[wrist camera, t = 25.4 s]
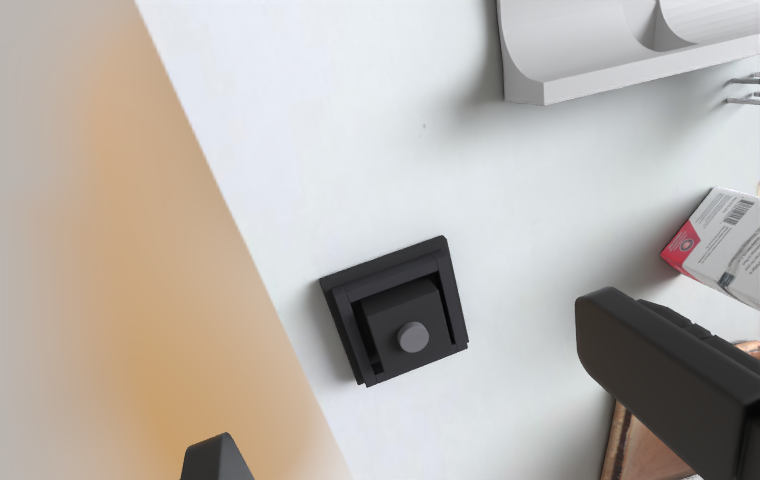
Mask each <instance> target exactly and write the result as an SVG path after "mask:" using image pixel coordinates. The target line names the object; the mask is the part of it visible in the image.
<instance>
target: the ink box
mask: <svg viewBox="0 0 760 480" xmlns="http://www.w3.org/2000/svg"><path fill="white" fill-rule="evenodd" d="M660 257H661V258H663V259H664V260H665V261H666V262H667V263H668V264H670V265H671V266H672V267H674V268H675V269H676V270H678V271H679V272H681V273H682V274H684V275H686V276H688V277H690V278H692V279H694V280H696V281H698V282H700V283H702V284H704V285H707V286H709V287H711V288H713V289H715V290H717V291H719V292H721V293H723V294H725V295H727V296H729V297H732V298H734V299H736V300H738V301H740V302H742V303H744V304H746V305H748V306H750V307H752V308H754V309H757V310H759V311H760V197H757V196H753V195H750V194H746V193H742V192H738V191H734V190H730V189H726V188H721V187H714V188H713V189H712V191H711V192H710V193H709V194H708V196H707V197H706V198H705V199H704V201H703V202H702V203H701V204H700V205H699V207H698V208H697V209H696V210H695V212H694V213H693V214H692V215H691V217H690V218H689V219H688V221H687V222H686V223H685V224H684V225H683V227H682V228H681V229H680V230H679V232H678V233H677V234H676V235H675V237H674V238H673V239H672V240H671V241H670V243H669V244H668V245H667V246H666V248H665V249H664V250H663V251H662V252H661V254H660Z"/></svg>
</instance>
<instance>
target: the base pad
mask: <svg viewBox="0 0 760 480" xmlns="http://www.w3.org/2000/svg"><path fill="white" fill-rule="evenodd" d="M425 275H426V276H427V277H428V278H429V280H430V281H431V282H432V284H433V285H434V286H435V287H436V289H437V290H438V291H439V296H440V300H441V304H442V308H443V312H444V317H445V321H446V325H447V329H448V333H449V337H450V342H451V346H452V350H450V351H448V352H445V353H442V354H440V355H437V356H435V357H432V358H430V359H427V360H424V361H422V362H419V363H417V364H414V365H412V366H409V367H407V368H404V369H401V370H399V371H396V372H394V373H391V374H389V375H385V373H384V370H383V368H382V365H381V362H380V360H379V357H378V355H377V352H376V349H375V346H374V343H373V340H372V337H371V334H370V331H369V328H368V325H367V322H366V319H365V316H364V313H363V310H362V307H361V304H360V301H359V299H362V298H364V297H367V296H370V295H373V294H375V293H378V292H381V291H384V290H386V289H389V288H392V287H394V286H397V285H400V284H403V283H405V282H408V281H411V280H414V279H416V278H419V277H422V276H425ZM319 280H320V284H321V287H322V290H323V292H324V295H325V298H326V300H327V303H328V306H329V309H330V311H331V314H332V317H333V319H334V322H335V325H336V327H337V330H338V333H339V335H340V338H341V341H342V343H343V346H344V349H345V352H346V354H347V357H348V360H349V362H350V365H351V368H352V370H353V373H354V376H355V378H356V381H357V384H358V385H361V384H363V383H365V384H366V387H367V388H368V387H371V386H373V385H376V384H377V383H381V382H383V381H386V380H389V379H391V378H394V377H396V376H399V375H401V374H404V373H406V372H409V371H411V370H414V369H417V368H419V367H422V366H424V365H427V364H429V363H432V362H434V361H437V360H439V359H442V358H445V357H447V356H450V355H452V354H455V353H457V352H460V351H462V350H465V349H467V348H468V346H467V343H468V342H469V339H468V335H467V330H466V326H465V321H464V316H463V312H462V307H461V303H460V298H459V293H458V289H457V284H456V280H455V275H454V270H453V266H452V261H451V257H450V252H449V247H448V243H447V239H446V238H445V237H444V236H443V235H441V236H439V237H436V238H433V239H430V240H427V241H425V242H422V243H419V244H416V245H413V246H410V247H408V248H405V249H402V250H399V251H396V252H394V253H391V254H388V255H385V256H382V257H379V258H377V259H374V260H371V261H368V262H365V263H363V264H360V265H357V266H354V267H351V268H348V269H346V270H343V271H340V272H337V273H334V274H332V275H329V276H326V277H323V278H320V279H319Z"/></svg>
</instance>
